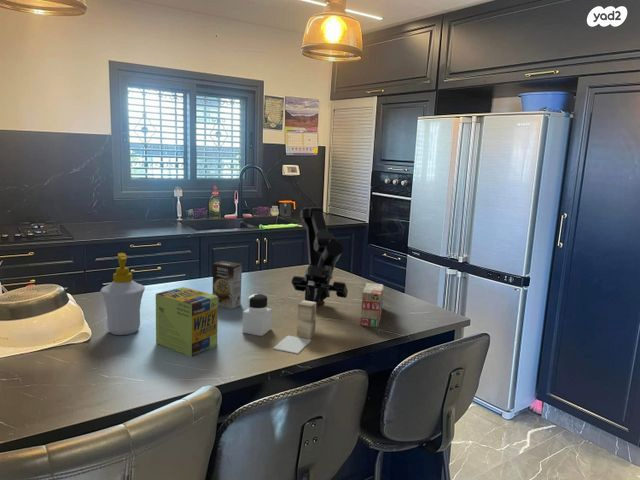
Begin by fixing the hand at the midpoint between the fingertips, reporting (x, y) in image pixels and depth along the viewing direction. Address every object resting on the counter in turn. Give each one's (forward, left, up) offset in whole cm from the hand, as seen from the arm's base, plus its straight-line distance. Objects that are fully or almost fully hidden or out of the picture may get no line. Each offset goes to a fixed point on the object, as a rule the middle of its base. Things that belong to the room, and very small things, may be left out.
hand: (312, 308), depth 155 cm
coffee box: (-39, +3, -8) cm, 40 cm away
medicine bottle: (-14, -11, -8) cm, 20 cm away
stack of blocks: (+10, +26, -8) cm, 29 cm away
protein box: (-24, -32, -8) cm, 41 cm away
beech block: (+1, -5, -8) cm, 9 cm away
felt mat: (+1, -13, -8) cm, 15 cm away
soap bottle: (-47, -36, -8) cm, 60 cm away
